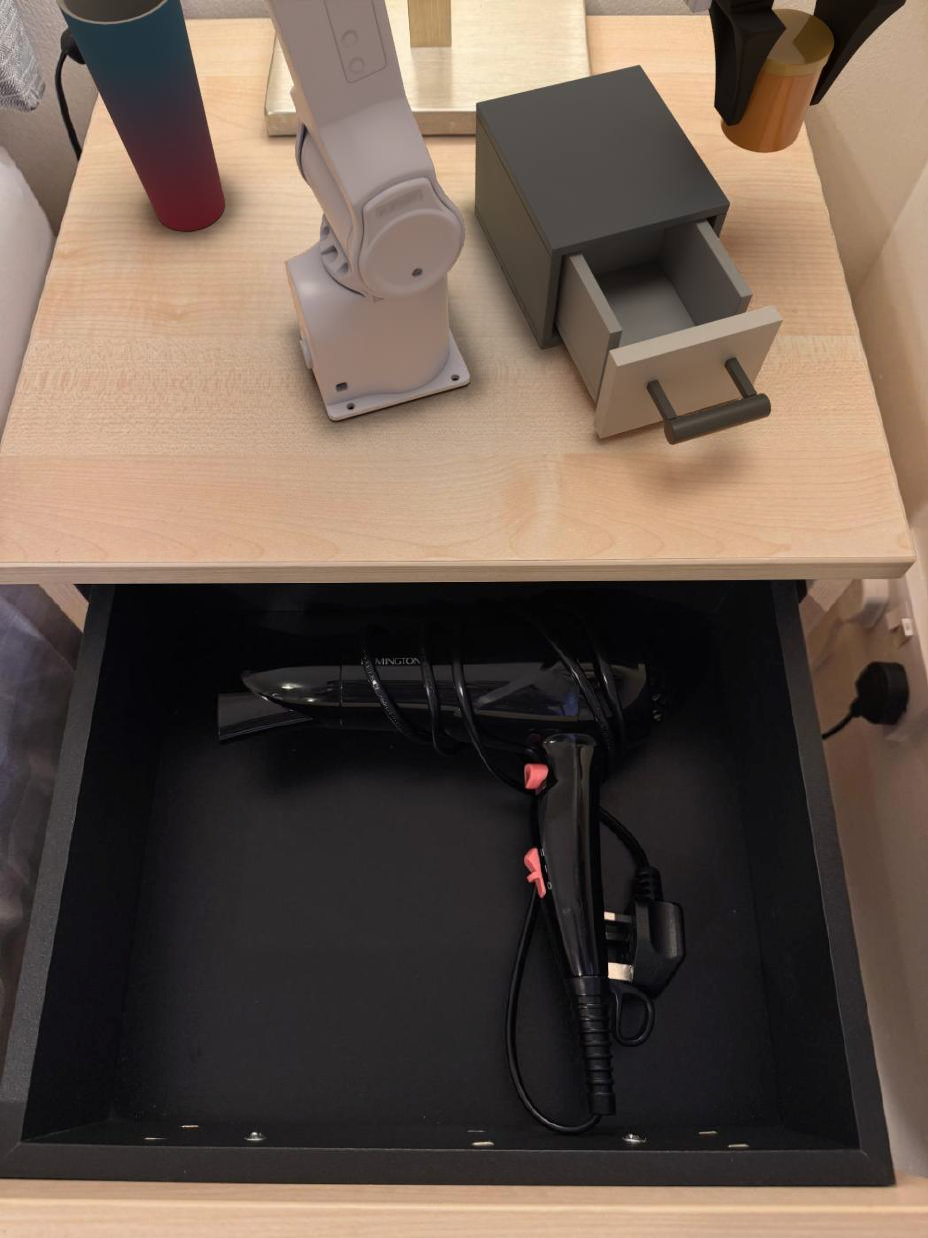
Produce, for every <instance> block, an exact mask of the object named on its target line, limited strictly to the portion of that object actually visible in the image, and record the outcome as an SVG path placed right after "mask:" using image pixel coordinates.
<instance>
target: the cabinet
mask: <svg viewBox="0 0 928 1238" xmlns="http://www.w3.org/2000/svg"><path fill="white" fill-rule="evenodd" d="M474 154H475V158H474V159H475V162H474V163H475V164H474V214H475V216H476V218H477V220H478V222H479V224H480V226H481V228H482V230H483V232H484V235H485V236H486V238H487V241H488V242H489V245H490V246H491V249H492V251H493V253H494V256H495V257H496V259H497V261H498V263H499V265H500V268H501V270H502V271H503V273H504V275H505V277H506V280H507V282H508V284H509V286H510V288H511V290H512V292H513V294H514V296H515V298H516V300H517V302H518V305H519V307H520V308H521V310H522V313H523V315H524V317H525V319H526V321H527V323H528V325H529V327H530V330H531V331H532V333H533V336H534V338H535V340H536V342H537V343H538V346H539V348H540V349H541V350H543V349H547V348H552V347H555V346H558V345H562V344H565V343H564V341H563V339H562V337H561V335H560V333H559V331H558V329H557V327H556V325H555V323H554V314H555V307H556V299H557V291H558V283H559V275H560V268H561V260H562V255H566V254H570V253H573V252H577V251H581V250H585V249H589V248H593V247H596V246H600V245H604V244H608V243H612V242H615V241H619V240H623V239H627V238H631V237H635V236H638V235H642V234H646V233H650V232H654V231H658V230H661V229H665V228H669V227H673V226H677V225H681V224H684V223H688V222H692V221H696V220H700V219H704V218H706V220H707V221H708V223H709V224H710V226H711V228H712V229H713V231H714V232H715V234H716V235H717V237H718V239H719V240H720V237H721V233H722V230H723V228H724V224H725V221H726V218H727V215H728V212H729V209H730V206H731V202H730V200H729V199H728V197H727V196H726V194H725V193H724V191H723V189H722V188H721V186H720V185H719V182H718V181H716V179H715V177H714V175H713V174H712V172H711V171H710V170H709V168H708V166H707V165H706V164H705V162H704V160H703V159H702V157H701V155H700V154H699V152H698V151H697V150H696V147H694V145H693V143H692V142H691V140H690V139H689V138H688V136H687V134H686V133H685V131H684V129H683V128H682V127H681V125H680V124H679V122H678V120H677V119H676V118H675V116H674V114H673V113H672V112H671V109H670V108H669V107H668V105H667V104H666V102H665V101H664V100H663V98H662V96H661V95H660V93H659V91H658V90H657V88H656V87H655V86H654V84H653V82H652V81H651V79H650V78H649V76H648V75H647V73H646V71H645V70H644V69H643V67H642V66H641V65H640V64H637V65H633V66H628V67H624V68H623V67H622V68H620V69H615V70H610V71H607V72H602V73H598V74H593V75H589V76H585V77H581V78H577V79H573V80H568V81H564V82H558V83H555V84H550V85H546V86H543V87H538V88H534V89H530V90H525V91H521V92H516V93H513V94H508V95H504V96H500V97H495V98H491V99H487V100H482V101H478V102H476V103H475V153H474Z"/></svg>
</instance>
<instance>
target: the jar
mask: <svg viewBox="0 0 928 1238" xmlns="http://www.w3.org/2000/svg"><path fill="white" fill-rule="evenodd" d="M772 10H773V11H774V12H775V14H776V15H777V16H778V17H779V19H780V20H781V21H782V23H783V24H784V25H785V27H786V28H787V29H786V30H785V31H784V33H783V34H782V35H781V37H780V38H779V39H778V41H777V42H776V44H775V45H774V47H773V48H772V50H771V51H770V53H769V55H768V57H767V59H766V60H765V62H764V64H763V66H762V68H761V70H760V73H759V75H758V77H757V80H756V82H755V85H754V88H753V91H752V94H751V97H750V100H749V103H748V106H747V109H746V111H745V113H744V115H743V117H742V119H741V121H740V122H739V124H737V125H733V126H727V125H726V123H725V122H724V120H723V119H722V117H721V116H720V129H721V131H722V133H723V135H724V137H725V138H726V139H727V140H728V141H730V142H731V143H732V144H733V145H735V146H736V147H739V148H741V149H742V150H745V151H747V152H748V151H749V152H753V153H761V154H769V153H770V154H771V153H777V152H780V151H783V150H785V149H787V148H789V147H791V146H792V145H793V144H794V143H795V142H796V140H797V139H798V137H799V134H800V131H801V129H802V127H803V123H804V121H805V118H806V116H807V114H808V111H809V108H810V106H809V105H810V103H811V100H812V97H813V95H814V92H815V89H816V87H817V84H818V82H819V79H820V76H821V74H822V71H823V68H824V66H825V64H826V63H827V62H828V60H829V58H830V55H831V53H832V50H833V47H834V36H833V33H832V31H831V30H830V28H829V27H828V26H827V25H826V24H825V23H824V22H823V21H822V20H820V19H819V18H817V17H815V16H813V14H811V13H809V12H805V11H803V10H799V9H798V10H797V9H793V8H772Z"/></svg>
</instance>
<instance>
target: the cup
mask: <svg viewBox="0 0 928 1238" xmlns="http://www.w3.org/2000/svg"><path fill="white" fill-rule="evenodd" d="M56 4H57V5H58V8H59V10H60V12H61V14H62V17H63V19H64V21H65V23H66V26H67V27H68V29H69V31H70V33H71V36H72V38H73V40H74V42H75V44H76V47H77V49H78V51H79V53H80V55H81V58H82V59H83V61H84V64H85V66H86V68H87V69H88V72H89V74H90V76H91V79H92V81H93V83H94V86H95V87H96V89H97V91H98V94H99V95H100V97H101V100H102V102H103V105H104V106H105V108H106V111H107V112H108V115H109V116H110V119H111V121H112V124H113V125H114V127H115V130H116V132H117V134H118V136H119V138H120V140H121V142H122V144H123V146H124V149H125V151H126V154H127V155H128V158H129V159H130V162H131V163H132V167H133V168H134V170H135V172H136V174H137V177H138V178H139V181H140V183H141V186H142V187H143V189H144V192H145V193H146V196H147V198H148V199H149V202H150V204H151V206H152V209H153V211H154V213H155V216H156V217H157V219H158V220H159V221H160V222H161V223H162V224H163V225H164V226H165V227H167V228H170V229H172V230H175V231H182V232H191V231H192V232H193V231H198V230H201V229H203V228H207V227H208V226H210V225H212V224H213V223H214V222H216V221H217V220H218V219H219V218H220V216H222V214H223V212H224V211H225V206H226V199H225V195H224V190H223V185H222V180H221V177H220V172H219V168H218V167H219V166H218V164H217V163H218V162H217V159H216V154H215V150H214V145H213V142H212V137H211V132H210V128H209V122H208V119H207V114H206V110H205V109H206V108H205V105H204V100H203V95H202V92H201V87H200V83H199V78H198V74H197V69H196V65H195V60H194V56H193V51H192V47H191V42H190V38H189V33H188V29H187V25H186V20H185V15H184V11H183V6H182V2H181V0H56Z"/></svg>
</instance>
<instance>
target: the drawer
mask: <svg viewBox="0 0 928 1238" xmlns="http://www.w3.org/2000/svg"><path fill="white" fill-rule="evenodd" d="M727 251H728V250H727V249H726V247H725V246H724V245H723V243H722V241H721V240H720V238H719V239H718V237H717V235H716V234H715V232H714V231H713V229H712V228H711V226H710V224H709V223H708V221H707V220H706V218H704V219H700V220H696V221H692V222H688V223H684V224H681V225H677V226H673V227H669V228H665V229H661V230H658V231H654V232H650V233H646V234H642V235H638V236H635V237H631V238H627V239H623V240H619V241H615V242H612V243H608V244H604V245H600V246H596V247H593V248H589V249H585V250H581V251H577V252H573V253H570V254H566V255H562V260H561V268H560V275H559V283H558V291H557V299H556V307H555V314H554V323H555V325H556V327H557V329H558V331H559V333H560V335H561V337H562V339H563V341H564V343H563V344H564V345H565V347H566V349H567V351H568V353H569V355H570V357H571V359H572V361H573V362H574V365H575V367H576V369H577V371H578V374H580V377H581V379H582V381H583V383H584V384H585V387H586V389H587V391H588V393H589V395H590V397H591V399H592V401H593V403H594V404H595V405H596V404H597V405H596V409H595V414H594V419H593V423H592V424H593V426H594V428H595V431H596V432H597V435H598V437H599V438H600V439H604V438H607V437H611V436H614V435H618V434H622V433H624V432H628V431H631V430H634V429H637V428H642V427H645V426H648V425H652V424H655V423H659V422H663V423H664V424H663V432H664V436H665V439H666V442H667V443H668V444H669V445H671V446H675V445H679V444H682V443H684V442H689V441H692V440H695V439H698V438H702V437H705V436H708V435H712V434H715V433H719V432H721V431H725V430H729V429H732V428H735V427H738V426H743V425H745V424H746V425H747V424H749V423H752V422H756V421H759V420H762V419H766V418H769V416H770V415H771V412H772V404H771V400H770V398H769V396H768V395H767V394H766V393H764V392H760V393H758V391H757V390H756V389H755V386H754V384H755V382H756V380H757V378H758V376H759V374H760V371H761V369H762V367H763V365H764V362H765V360H766V358H767V356H768V354H769V351H770V349H771V348H772V345H773V343H774V341H775V338H776V336H777V334H778V332H779V330H780V327H781V326H782V323H783V321H784V319H783V317H782V315H781V314H780V312H779V310H778V309H777V308H776V306H775V305H774V304H770V305H767V306H765V307H760V308H757V309H754V310H750V311H748V308H749V305H750V303H751V300H752V298H753V296H754V293H753V290H751V288H750V286H749V284H748V282H747V281H746V280H745V278H744V276H743V275H742V274H741V273H742V272H740V270H739V268H738V267H737V265H736V263H735V262H734V261H733V259H732V258H731V256H730V255H729V253H728V252H727Z"/></svg>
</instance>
